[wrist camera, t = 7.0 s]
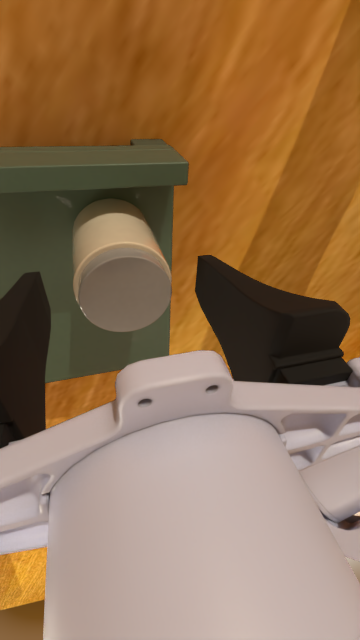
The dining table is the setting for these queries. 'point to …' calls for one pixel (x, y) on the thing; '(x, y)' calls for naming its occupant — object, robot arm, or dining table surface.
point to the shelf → (56, 238)
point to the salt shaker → (118, 267)
